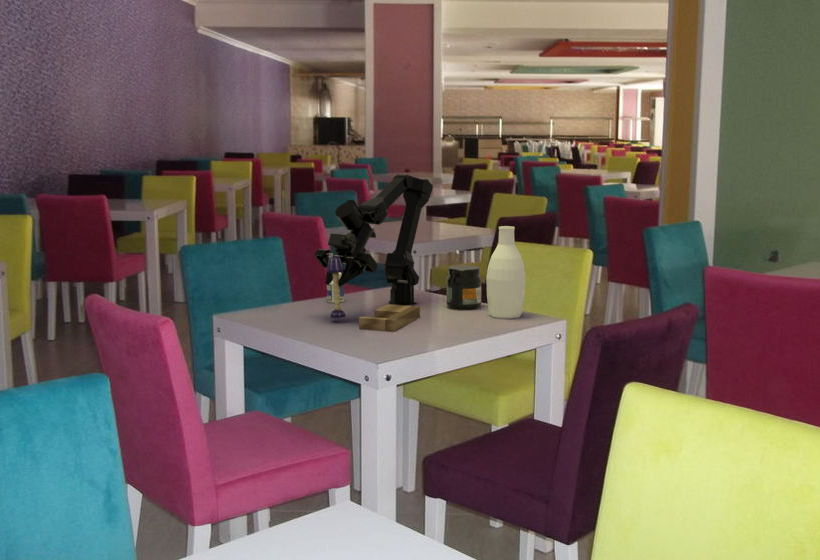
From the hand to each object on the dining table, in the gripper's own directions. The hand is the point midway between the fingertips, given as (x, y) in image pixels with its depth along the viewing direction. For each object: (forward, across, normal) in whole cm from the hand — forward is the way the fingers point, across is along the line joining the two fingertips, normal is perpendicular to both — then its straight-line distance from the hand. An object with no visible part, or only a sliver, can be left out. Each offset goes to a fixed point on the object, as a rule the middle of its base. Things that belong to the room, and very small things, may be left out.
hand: (332, 284), depth 254 cm
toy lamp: (+6, 0, +8) cm, 9 cm away
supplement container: (-20, +18, +36) cm, 45 cm away
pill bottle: (-10, -20, +26) cm, 34 cm away
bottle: (-17, +35, +32) cm, 50 cm away
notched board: (+2, +13, +14) cm, 19 cm away
